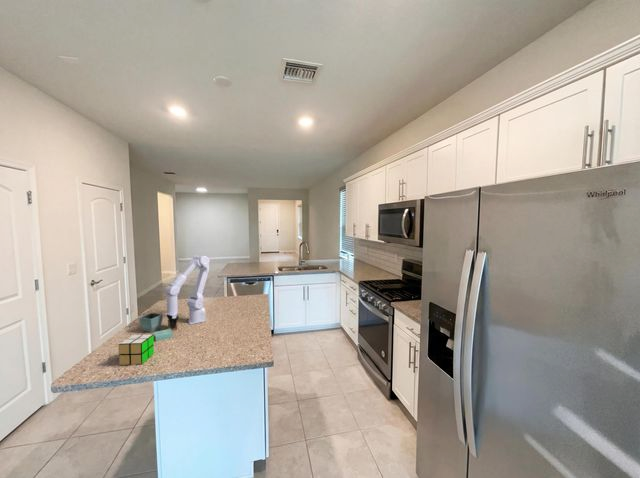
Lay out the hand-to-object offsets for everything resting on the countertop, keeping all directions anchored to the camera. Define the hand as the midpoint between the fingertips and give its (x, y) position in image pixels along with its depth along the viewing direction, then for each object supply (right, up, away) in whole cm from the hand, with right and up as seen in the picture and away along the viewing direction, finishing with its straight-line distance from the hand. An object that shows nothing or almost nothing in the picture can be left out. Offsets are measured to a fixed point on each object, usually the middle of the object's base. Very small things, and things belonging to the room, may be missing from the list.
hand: (172, 326), depth 157 cm
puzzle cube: (+4, -3, -36) cm, 36 cm away
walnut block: (0, -1, 0) cm, 1 cm away
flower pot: (-11, -2, -2) cm, 12 cm away
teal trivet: (+1, -2, -11) cm, 12 cm away
